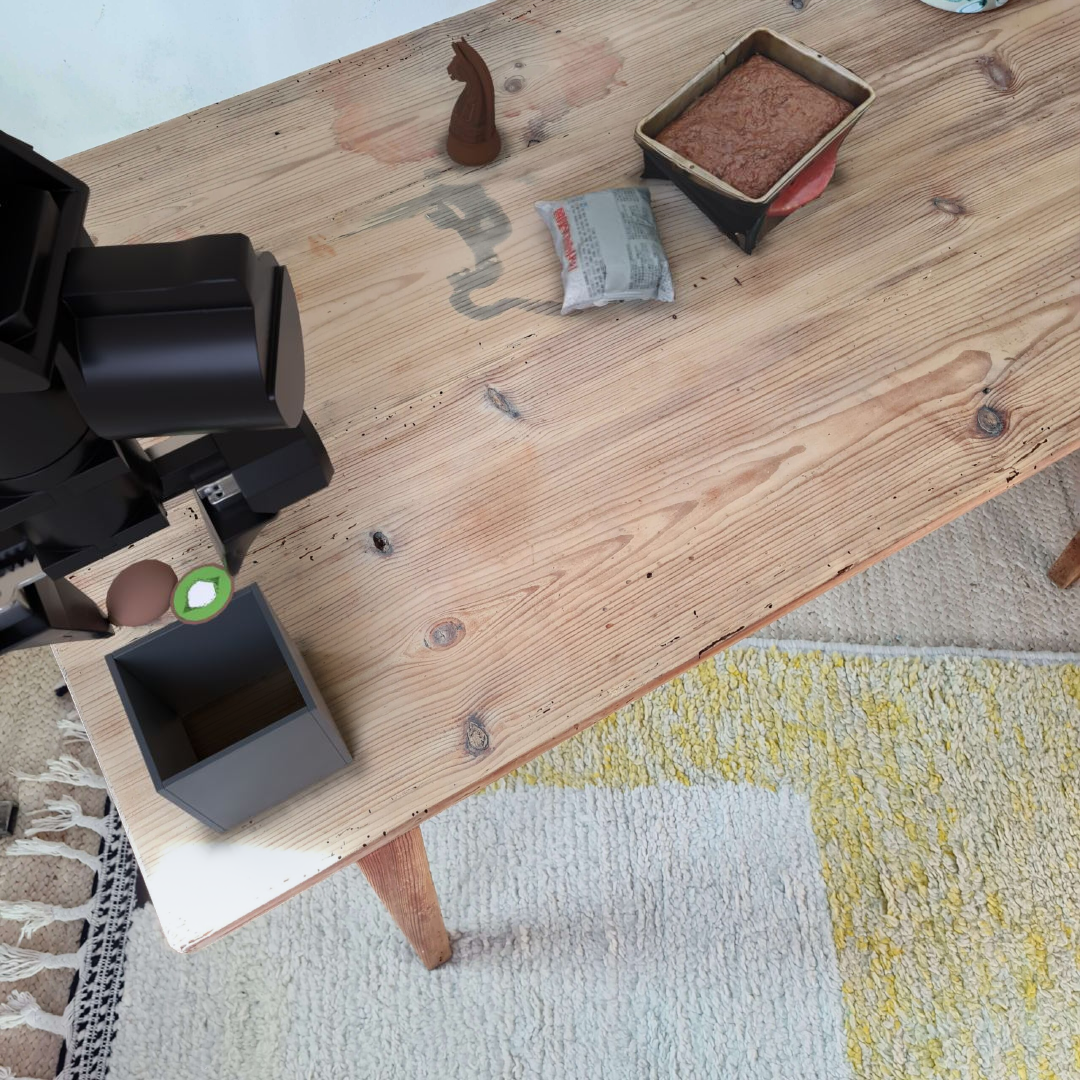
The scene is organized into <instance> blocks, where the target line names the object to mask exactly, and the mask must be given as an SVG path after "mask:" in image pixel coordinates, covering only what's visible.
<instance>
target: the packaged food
mask: <svg viewBox="0 0 1080 1080" xmlns="http://www.w3.org/2000/svg"><path fill="white" fill-rule="evenodd" d="M651 203H652V194H651V190H650V188H649V187H648V186H630V187H629V186H628V187H618V188H615V187H609V188H605V189H601V190H597V191H590V192H587V193H582V194H579V195H574V196H570V197H566V198H563V199H560V200H558V201H557V200H537V201H535V203H534V207H533V209H534V211H535V212H536V213H537V214H538V216H539V217H540V218H541V219H542V221H543V222H544V223H545V224H546V227H547V228H548V229H549V231H550V235H551V237H552V241H553V246H554V249H555V253H556V255H557V256H556V257H557V258H558V260H559V263H560V265H561V266H562V269H561V272H560V278H561V284H562V289H563V293H564V294H563V301H562V307H561V310H560V316H563V315H564V316H565V315H567V314H568V313H570V312H571V311H573V310H580V311H581V310H584V309H587V308H592V307H593V308H594V307H603V306H607V305H608V304H613V303H625V302H630V301H634V300H639V299H641V300H642V301H648V300H655V301H656V302H658V301H662V302H668V303H671V302H674V301H675V300H676V289H675V283H674V280H673V275H672V272H671V268H670V265H669V260H668V258H667V254H666V251H665V248H664V245H663V242H662V239H661V236H660V233H659V231H658V230H659V229H658V224H657V221H656V218H655V215H654V212H653V210H652V208H651V205H652V204H651Z"/></svg>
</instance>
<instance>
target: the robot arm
mask: <svg viewBox="0 0 1080 1080" xmlns="http://www.w3.org/2000/svg"><path fill="white" fill-rule="evenodd" d="M90 197H91V188H90V187H89V185H88V184H87V183H86V182H84V181H83V180H82V179H79V178H78V177H77V176H75V175H73V174H72V173H70V172H69V171H67V170H66V169H64V168H62V167H61V166H59V165H57V164H56V163H55V162H54V161H51V160H50V159H48V158H47V157H45V156H43V154H40V153H39V152H37V151H35V150H34V146H33V145H32V144H30V143H28V142H25V141H23V140H21V139H19V138H17V137H15V136H13V135H11V134H9V133H7V132H5V131H4V130H2V129H0V657H2V656H4V655H6V654H9V653H12V652H15V651H20V650H28V649H34V648H39V647H45V646H52V645H58V644H66V643H73V642H75V643H76V642H85V641H95V640H97V641H98V640H108V639H110V638H112V637H114V636H116V631H115V628H114V625H112V624H111V623H110V622H109V620H108V619H107V615H108V614H106V613H105V612H104V611H103V609H102V608H101V607H100V606H99V605H98V603H97V602H96V601H94V600H93V599H92V598H91V597H90V596H88V595H87V594H86V593H85V592H83V591H82V590H81V589H80V588H79V587H77V586H76V585H75V584H73V583H72V582H71V581H70V580H68V579H67V578H66V577H67V576H69V575H72V574H73V573H75V572H77V571H79V570H82V569H84V568H86V567H88V566H90V565H92V564H94V563H96V562H98V561H100V560H102V559H105V558H106V557H108V556H110V555H112V554H114V553H117V552H119V551H121V550H123V549H125V548H127V547H129V546H131V545H134V544H135V543H137V542H140V541H141V540H144V539H145V538H148V537H149V536H152V535H154V534H156V533H158V532H161V531H162V530H165V529H166V528H168V527H170V526H171V523H170V521H169V519H168V510H167V508H166V506H165V503H167V502H169V501H171V500H173V499H176V498H177V497H179V496H181V495H184V494H185V493H187V492H189V491H192V494H193V496H194V498H195V502H196V505H197V507H198V509H199V512H200V514H201V516H202V519H203V522H204V525H205V528H206V530H207V533H208V535H209V537H210V541H211V543H212V545H213V547H214V550H215V552H216V554H217V555H218V557H219V559H220V561H221V563H222V566H224V567H225V569H226V571H227V572H228V573H229V574H230V575H231V576H233V577H234V576H235V575H238V574H239V572H240V570H241V567H242V566H243V563H244V560H245V559H246V556H247V553H248V552H249V550H250V547H251V546H252V545H253V543H254V542H255V540H256V539H257V537H258V536H259V535H260V534H261V531H262V530H263V529H264V528H265V527H266V526H267V525H270V524H272V523H274V522H275V521H276V520H278V519H279V518H280V516H281V513H282V510H284V509H285V508H288V507H290V506H292V505H294V504H296V503H298V502H300V501H302V500H304V499H306V498H308V497H310V496H313V495H314V494H316V493H318V492H321V491H322V490H324V489H326V488H329V486H330V485H331V481H332V479H333V477H334V475H335V469H334V466H333V463H332V460H331V458H330V455H329V453H328V450H327V448H326V446H325V444H324V442H323V440H322V438H321V436H320V434H319V432H318V431H317V429H316V428H315V426H314V424H313V422H312V420H311V419H310V417H309V416H308V414H307V412H306V410H305V409H304V406H305V397H306V362H305V360H306V359H305V348H304V347H305V345H304V338H303V337H304V336H303V329H302V323H301V316H300V310H299V305H298V302H297V297H296V292H295V288H294V286H293V283H292V277H291V275H290V273H289V270H288V267H287V266H286V264H281V265H280V263H279V262H278V260H277V258H276V257H275V255H274V254H273V253H272V252H271V251H269V250H262V251H261V250H260V251H255V249H254V246H253V244H252V241H251V238H250V237H249V236H248V235H246V234H244V233H243V232H227V233H210V234H203V235H197V236H194V237H190V238H187V239H182V240H176V241H164V242H163V241H162V242H145V243H144V242H143V243H131V244H129V243H127V244H114V245H112V244H111V245H97V246H96V245H95V244H94V241H93V240H92V238H91V236H90V234H89V233H88V231H87V229H86V227H85V226H84V225H85V220H86V217H87V211H88V206H89V201H90ZM164 437H168V438H167V439H164V440H162V441H160V442H157V443H155V444H153V445H151V446H149V447H147V448H145V449H144V448H143V447H142V445H141V444H140V442H139V441H138V439H148V438H164Z"/></svg>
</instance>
